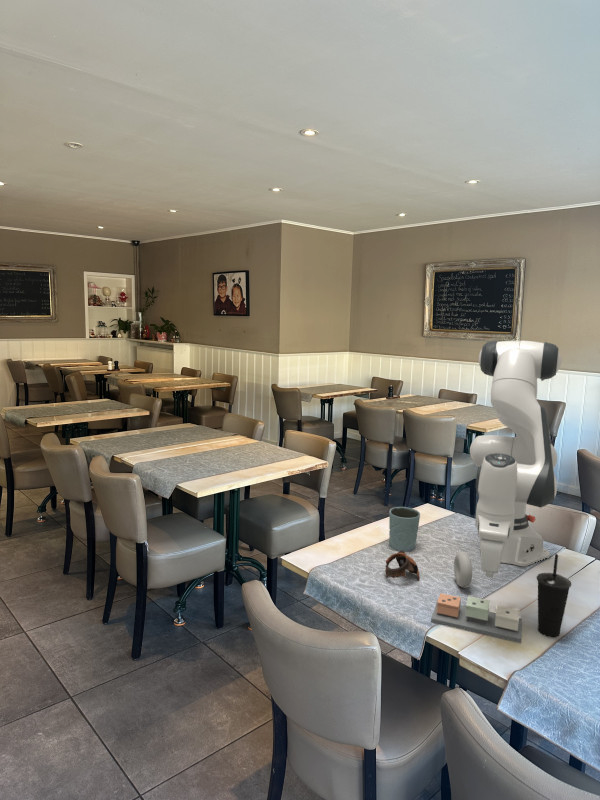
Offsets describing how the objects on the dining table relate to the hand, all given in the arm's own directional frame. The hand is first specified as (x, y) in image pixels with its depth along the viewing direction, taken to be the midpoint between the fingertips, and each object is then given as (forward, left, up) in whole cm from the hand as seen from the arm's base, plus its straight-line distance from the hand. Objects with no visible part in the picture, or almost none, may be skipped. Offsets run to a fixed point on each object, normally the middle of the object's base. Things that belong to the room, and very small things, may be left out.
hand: (489, 575), depth 137 cm
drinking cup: (-13, +8, -13) cm, 20 cm away
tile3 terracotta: (+6, -6, -12) cm, 15 cm away
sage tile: (+1, -2, -11) cm, 11 cm away
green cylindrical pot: (-7, -48, -13) cm, 50 cm away
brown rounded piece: (+5, -29, -13) cm, 33 cm away
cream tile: (-4, +3, -12) cm, 13 cm away
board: (+1, -2, -13) cm, 13 cm away
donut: (-8, -19, -13) cm, 24 cm away
